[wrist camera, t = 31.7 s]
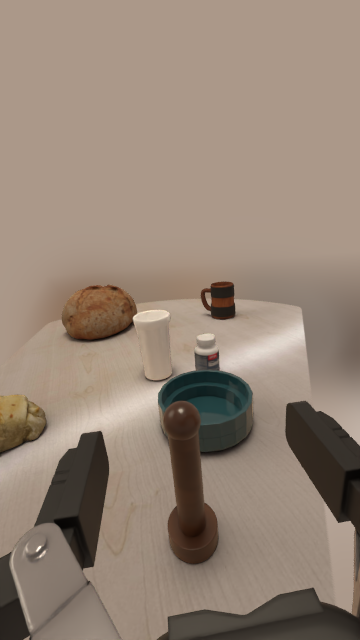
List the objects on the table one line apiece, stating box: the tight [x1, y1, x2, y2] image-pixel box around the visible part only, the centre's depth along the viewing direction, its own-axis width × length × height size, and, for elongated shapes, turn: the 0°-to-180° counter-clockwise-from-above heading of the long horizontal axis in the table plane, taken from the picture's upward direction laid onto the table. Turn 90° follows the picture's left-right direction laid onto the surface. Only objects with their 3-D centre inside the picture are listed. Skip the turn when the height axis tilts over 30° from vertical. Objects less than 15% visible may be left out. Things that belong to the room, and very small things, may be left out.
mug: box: [201, 282, 235, 319], centre depth 97 cm, size 9×12×12 cm
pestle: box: [163, 401, 218, 564], centre depth 27 cm, size 5×5×17 cm
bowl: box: [158, 370, 253, 452], centre depth 46 cm, size 15×15×6 cm
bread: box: [62, 285, 137, 340], centre depth 96 cm, size 26×23×15 cm
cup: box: [133, 310, 172, 380], centre depth 61 cm, size 8×8×14 cm
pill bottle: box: [194, 334, 220, 371], centre depth 60 cm, size 5×5×9 cm
